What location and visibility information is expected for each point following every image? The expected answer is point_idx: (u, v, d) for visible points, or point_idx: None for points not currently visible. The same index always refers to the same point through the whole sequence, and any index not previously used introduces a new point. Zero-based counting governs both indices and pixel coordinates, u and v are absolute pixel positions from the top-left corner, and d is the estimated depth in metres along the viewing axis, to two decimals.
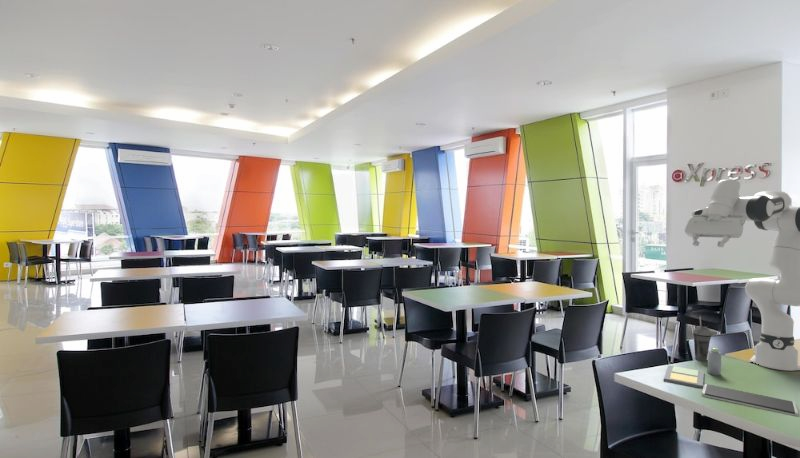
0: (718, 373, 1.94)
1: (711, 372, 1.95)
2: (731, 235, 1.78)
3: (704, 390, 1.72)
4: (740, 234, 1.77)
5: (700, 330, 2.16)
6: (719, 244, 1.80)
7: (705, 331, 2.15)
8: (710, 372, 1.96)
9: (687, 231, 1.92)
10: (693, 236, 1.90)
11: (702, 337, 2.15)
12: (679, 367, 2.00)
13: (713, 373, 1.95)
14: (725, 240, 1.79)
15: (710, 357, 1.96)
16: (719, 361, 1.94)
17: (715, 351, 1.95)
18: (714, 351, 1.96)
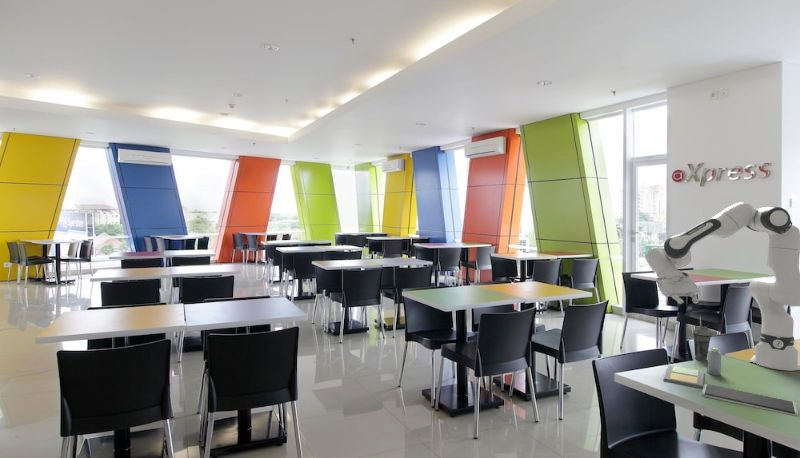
0: (718, 373, 1.94)
1: (711, 372, 1.95)
2: (669, 295, 2.08)
3: (704, 390, 1.72)
4: (666, 291, 2.07)
5: (700, 330, 2.16)
6: None
7: (705, 331, 2.15)
8: (710, 372, 1.96)
9: None
10: None
11: (702, 337, 2.15)
12: (679, 367, 2.00)
13: (713, 373, 1.95)
14: (675, 298, 2.07)
15: (710, 357, 1.96)
16: (719, 361, 1.94)
17: (715, 351, 1.95)
18: (714, 351, 1.96)
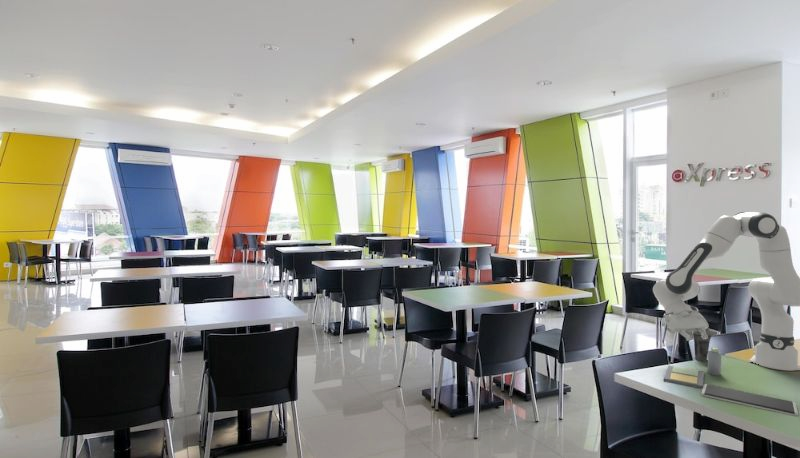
0: (718, 373, 1.94)
1: (711, 372, 1.95)
2: (677, 331, 2.04)
3: (704, 390, 1.72)
4: (674, 327, 2.03)
5: None
6: None
7: None
8: (710, 372, 1.96)
9: None
10: None
11: None
12: (679, 367, 2.00)
13: (713, 373, 1.95)
14: (684, 334, 2.03)
15: (710, 357, 1.96)
16: (719, 361, 1.94)
17: (715, 351, 1.95)
18: (714, 351, 1.96)
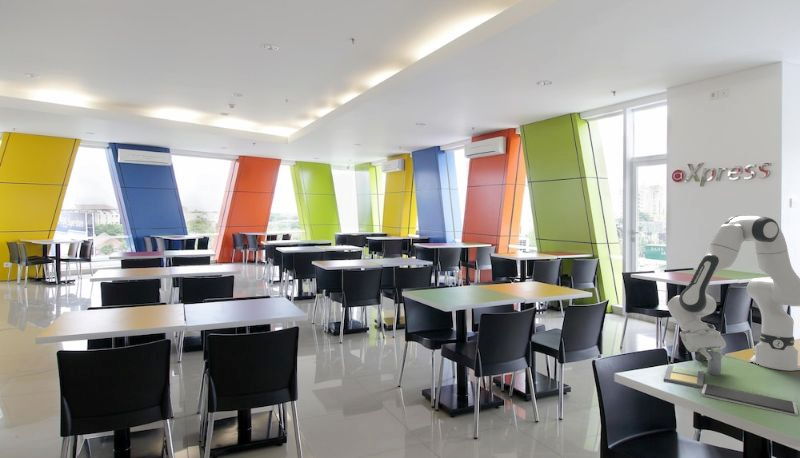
0: (718, 373, 1.94)
1: (711, 372, 1.95)
2: (694, 350, 1.97)
3: (704, 390, 1.72)
4: (691, 347, 1.96)
5: None
6: None
7: None
8: (710, 372, 1.96)
9: None
10: None
11: None
12: (679, 367, 2.00)
13: (713, 373, 1.95)
14: (704, 354, 1.96)
15: None
16: (719, 361, 1.94)
17: (715, 351, 1.95)
18: (714, 351, 1.96)
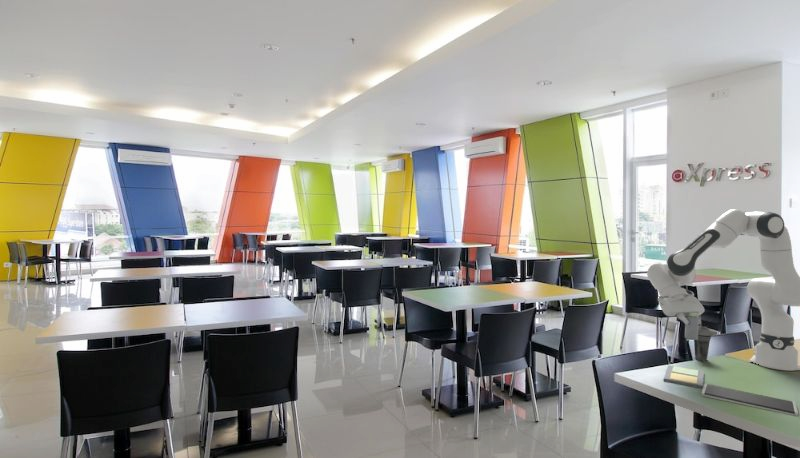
0: (695, 337, 1.93)
1: (688, 336, 1.94)
2: (672, 315, 1.95)
3: (704, 390, 1.73)
4: (668, 311, 1.94)
5: (700, 330, 2.16)
6: None
7: (705, 331, 2.15)
8: (687, 337, 1.94)
9: None
10: None
11: (702, 337, 2.15)
12: (679, 367, 2.00)
13: (690, 338, 1.93)
14: (681, 318, 1.95)
15: None
16: (696, 325, 1.93)
17: (692, 315, 1.94)
18: (691, 315, 1.94)
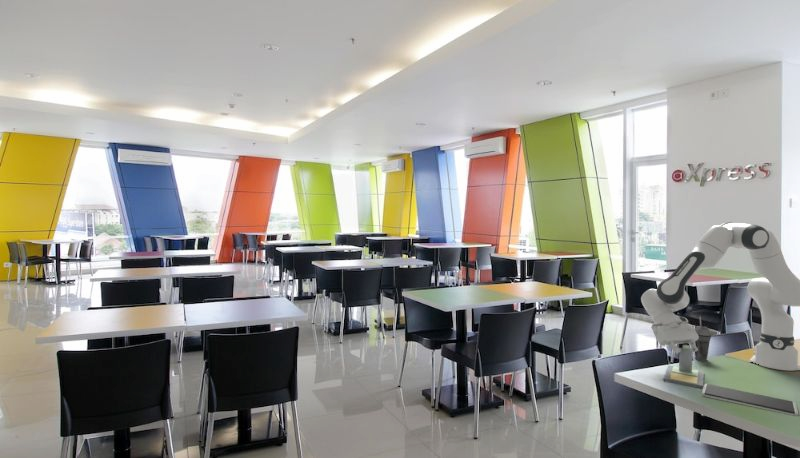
0: (689, 370, 1.93)
1: (682, 369, 1.94)
2: (666, 343, 1.95)
3: (704, 390, 1.73)
4: (662, 340, 1.94)
5: (700, 330, 2.16)
6: None
7: (705, 331, 2.15)
8: (681, 369, 1.94)
9: None
10: None
11: (702, 337, 2.15)
12: None
13: (684, 370, 1.93)
14: (672, 347, 1.94)
15: (681, 354, 1.94)
16: (690, 358, 1.93)
17: (686, 348, 1.94)
18: (685, 348, 1.94)
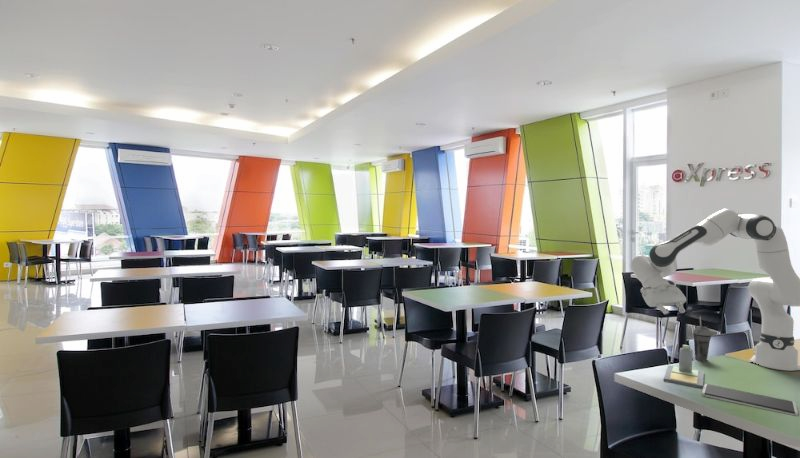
0: (689, 370, 1.93)
1: (682, 369, 1.94)
2: (654, 305, 2.01)
3: (704, 390, 1.73)
4: (650, 302, 2.00)
5: (700, 330, 2.16)
6: None
7: (705, 331, 2.15)
8: (681, 369, 1.94)
9: None
10: None
11: (702, 337, 2.15)
12: None
13: (684, 370, 1.93)
14: (660, 308, 2.00)
15: (681, 354, 1.94)
16: (690, 358, 1.93)
17: (686, 348, 1.94)
18: (685, 348, 1.94)
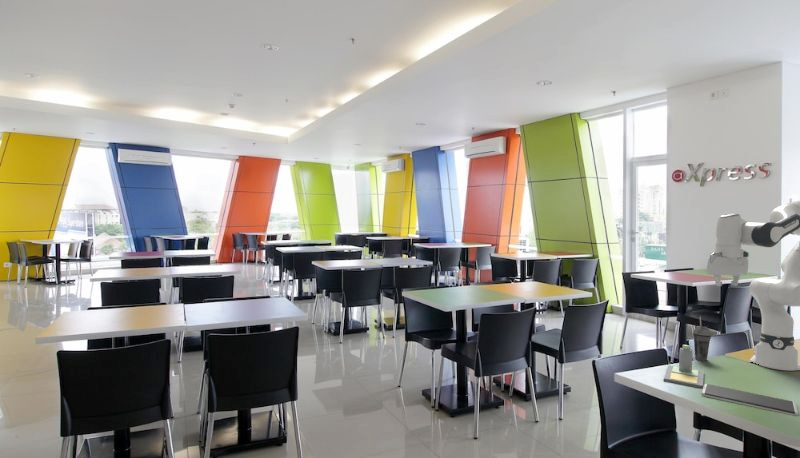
0: (689, 370, 1.93)
1: (682, 369, 1.94)
2: (712, 274, 1.94)
3: (704, 390, 1.73)
4: (711, 272, 1.92)
5: (700, 330, 2.16)
6: None
7: (705, 331, 2.15)
8: (681, 369, 1.94)
9: None
10: None
11: (702, 337, 2.15)
12: None
13: (684, 370, 1.93)
14: (716, 279, 1.94)
15: (681, 354, 1.94)
16: (690, 358, 1.93)
17: (686, 348, 1.94)
18: (685, 348, 1.94)
